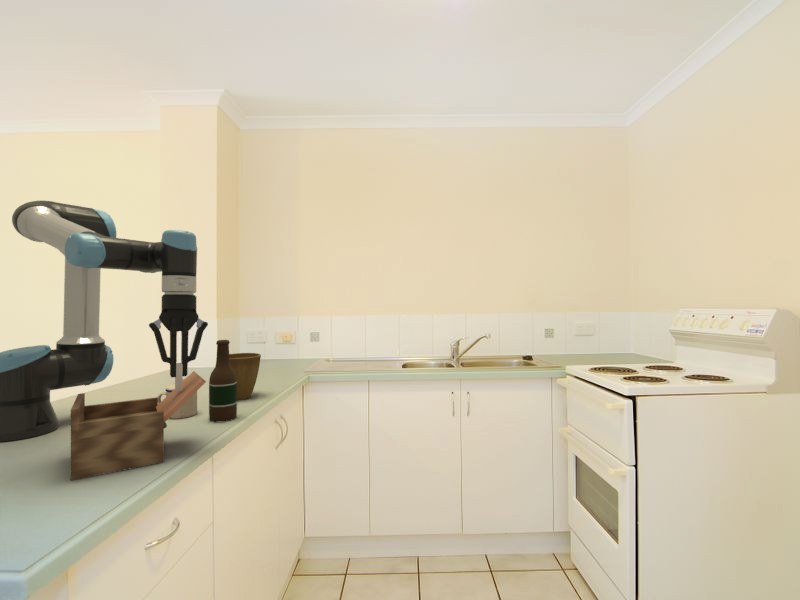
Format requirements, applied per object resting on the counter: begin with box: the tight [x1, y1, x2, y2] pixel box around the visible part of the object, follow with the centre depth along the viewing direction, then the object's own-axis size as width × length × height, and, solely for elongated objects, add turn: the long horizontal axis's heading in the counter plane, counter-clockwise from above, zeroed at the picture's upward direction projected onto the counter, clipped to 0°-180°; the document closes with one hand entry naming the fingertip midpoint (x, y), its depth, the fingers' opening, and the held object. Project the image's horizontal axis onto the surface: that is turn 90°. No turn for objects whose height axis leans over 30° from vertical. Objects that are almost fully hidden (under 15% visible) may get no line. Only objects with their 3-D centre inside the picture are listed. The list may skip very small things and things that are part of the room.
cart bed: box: [70, 392, 168, 481], centre depth 92 cm, size 17×18×14 cm
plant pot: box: [229, 352, 262, 401], centre depth 151 cm, size 15×15×16 cm
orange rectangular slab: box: [156, 370, 207, 422], centre depth 99 cm, size 2×15×12 cm
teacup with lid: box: [156, 377, 198, 419], centre depth 128 cm, size 12×9×12 cm
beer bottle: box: [208, 339, 238, 423], centre depth 123 cm, size 8×8×24 cm
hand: (178, 390), depth 99 cm, fingers closed
